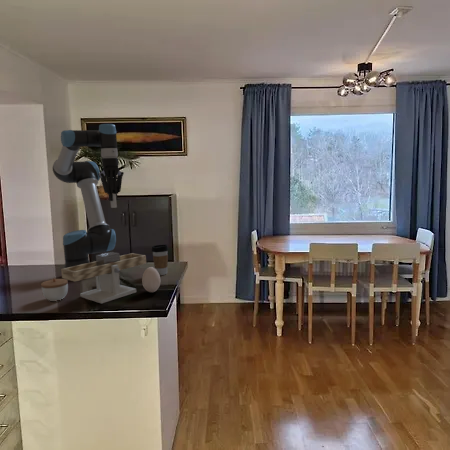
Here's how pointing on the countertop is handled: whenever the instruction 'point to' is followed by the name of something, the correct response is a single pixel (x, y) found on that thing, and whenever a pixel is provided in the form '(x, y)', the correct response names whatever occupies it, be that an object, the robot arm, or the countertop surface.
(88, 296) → the stand
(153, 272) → the egg
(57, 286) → the lidded jar
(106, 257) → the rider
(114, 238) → the robot arm
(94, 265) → the beam
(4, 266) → the countertop surface
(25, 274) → the countertop surface
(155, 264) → the coffee cup
